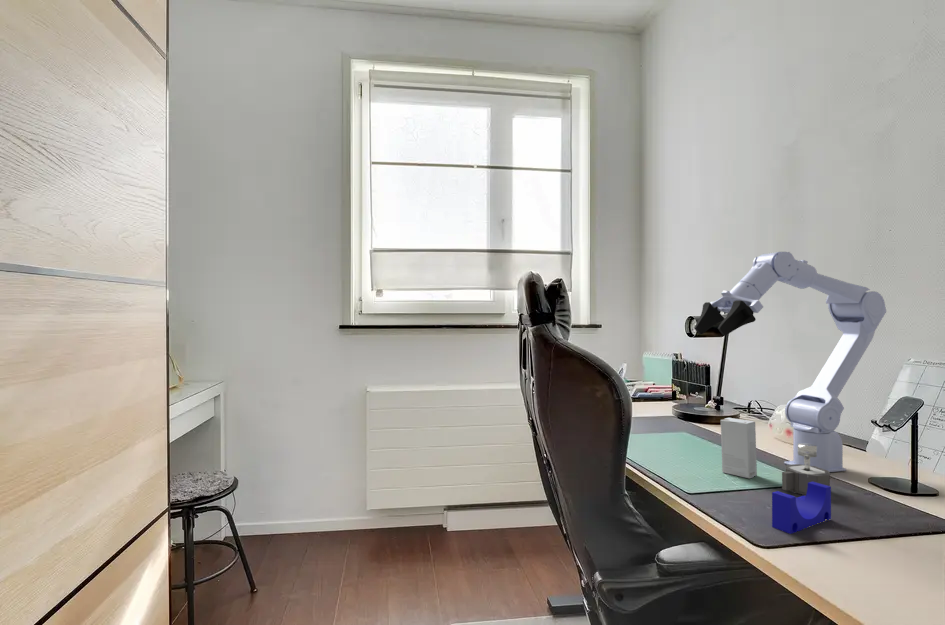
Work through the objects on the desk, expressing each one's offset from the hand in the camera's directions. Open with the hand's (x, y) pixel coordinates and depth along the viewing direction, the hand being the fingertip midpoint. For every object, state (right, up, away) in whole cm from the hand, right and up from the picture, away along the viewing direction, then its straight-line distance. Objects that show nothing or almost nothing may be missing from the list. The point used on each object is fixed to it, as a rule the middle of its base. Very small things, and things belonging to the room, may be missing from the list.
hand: (709, 331), depth 110 cm
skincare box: (+7, -32, +2) cm, 33 cm away
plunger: (+16, -29, -9) cm, 34 cm away
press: (+16, -32, -9) cm, 37 cm away
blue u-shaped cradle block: (+4, -32, -24) cm, 40 cm away
